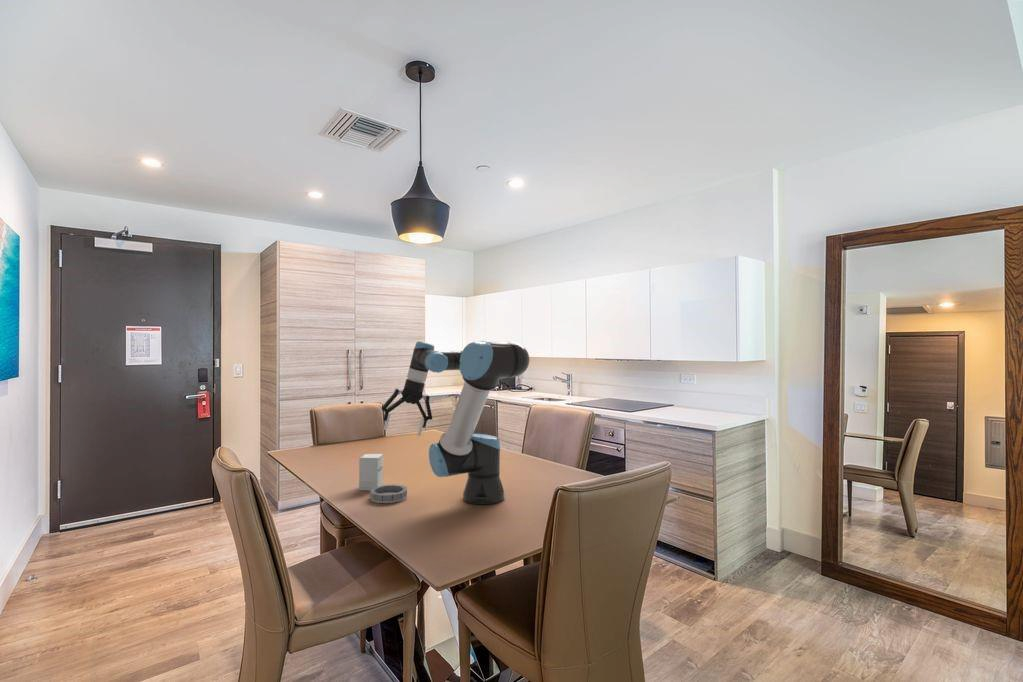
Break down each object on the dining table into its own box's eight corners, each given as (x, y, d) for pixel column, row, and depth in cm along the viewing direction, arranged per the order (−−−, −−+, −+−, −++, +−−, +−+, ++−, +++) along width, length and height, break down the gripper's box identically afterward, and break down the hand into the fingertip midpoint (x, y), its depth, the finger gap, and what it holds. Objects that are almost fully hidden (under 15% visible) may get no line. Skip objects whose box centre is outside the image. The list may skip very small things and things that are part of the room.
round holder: (413, 498, 175) (413, 490, 175) (379, 506, 166) (379, 497, 167) (397, 490, 185) (397, 482, 185) (364, 497, 176) (364, 488, 177)
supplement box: (377, 490, 184) (377, 458, 184) (358, 490, 184) (358, 457, 184) (383, 485, 192) (383, 453, 192) (364, 485, 192) (364, 453, 192)
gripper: (443, 385, 197) (430, 435, 197) (383, 372, 188) (369, 424, 188) (447, 388, 190) (434, 440, 190) (385, 374, 181) (371, 429, 181)
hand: (402, 432), depth 189 cm, fingers open, 13 cm apart
